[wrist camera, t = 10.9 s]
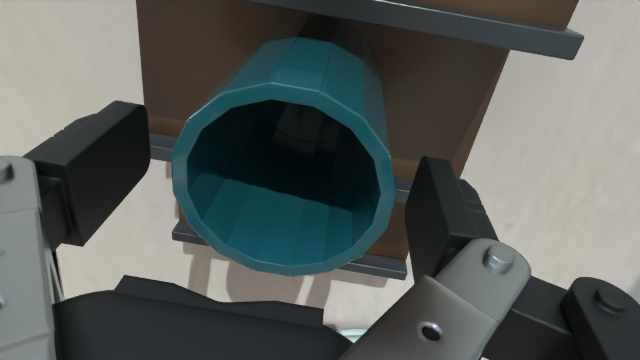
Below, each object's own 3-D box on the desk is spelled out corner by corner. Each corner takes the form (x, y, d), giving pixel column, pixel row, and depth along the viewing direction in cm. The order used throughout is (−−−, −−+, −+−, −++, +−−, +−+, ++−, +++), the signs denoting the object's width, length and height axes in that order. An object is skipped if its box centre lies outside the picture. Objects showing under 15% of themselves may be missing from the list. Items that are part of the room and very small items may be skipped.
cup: (246, 132, 19) (174, 257, 12) (254, 3, 16) (166, 64, 9) (365, 153, 19) (368, 290, 12) (395, 29, 16) (423, 109, 9)
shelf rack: (187, 215, 28) (81, 387, 18) (175, -285, 16) (-224, -749, 5) (401, 252, 28) (425, 446, 18) (561, -214, 16) (984, -520, 5)
